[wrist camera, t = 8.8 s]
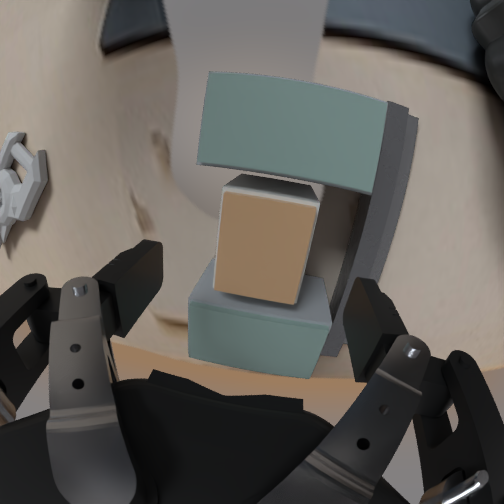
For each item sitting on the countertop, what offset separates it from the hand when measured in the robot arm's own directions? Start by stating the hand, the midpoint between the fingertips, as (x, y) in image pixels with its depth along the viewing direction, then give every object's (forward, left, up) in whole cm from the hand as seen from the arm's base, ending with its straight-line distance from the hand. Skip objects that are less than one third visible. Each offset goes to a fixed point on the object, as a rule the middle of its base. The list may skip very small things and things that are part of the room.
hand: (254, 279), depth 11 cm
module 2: (0, 0, -10) cm, 10 cm away
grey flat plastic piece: (+1, -31, -11) cm, 33 cm away
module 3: (+7, +1, -10) cm, 12 cm away
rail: (0, +7, -10) cm, 12 cm away
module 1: (-6, +1, -10) cm, 12 cm away
